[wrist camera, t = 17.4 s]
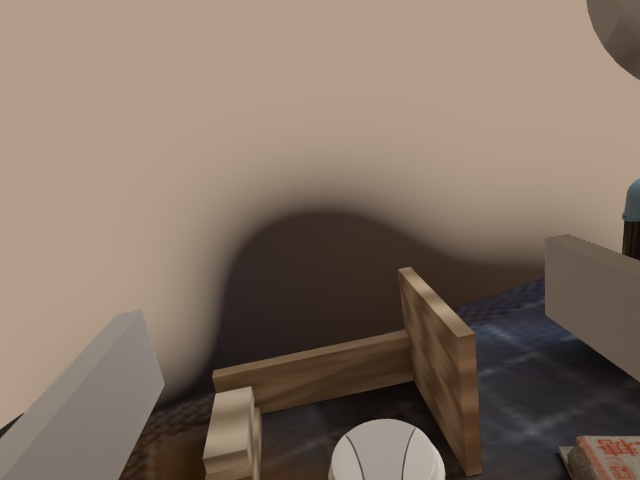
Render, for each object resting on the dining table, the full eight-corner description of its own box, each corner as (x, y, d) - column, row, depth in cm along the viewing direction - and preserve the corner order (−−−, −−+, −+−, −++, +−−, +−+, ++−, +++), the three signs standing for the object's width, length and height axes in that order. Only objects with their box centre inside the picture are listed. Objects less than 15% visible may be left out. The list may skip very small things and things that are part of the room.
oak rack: (482, 472, 40) (474, 333, 35) (206, 538, 38) (159, 401, 33) (420, 371, 56) (410, 266, 51) (226, 413, 54) (196, 309, 49)
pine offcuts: (258, 521, 39) (245, 474, 37) (203, 534, 38) (187, 487, 36) (262, 419, 52) (252, 380, 50) (221, 428, 52) (209, 390, 50)
